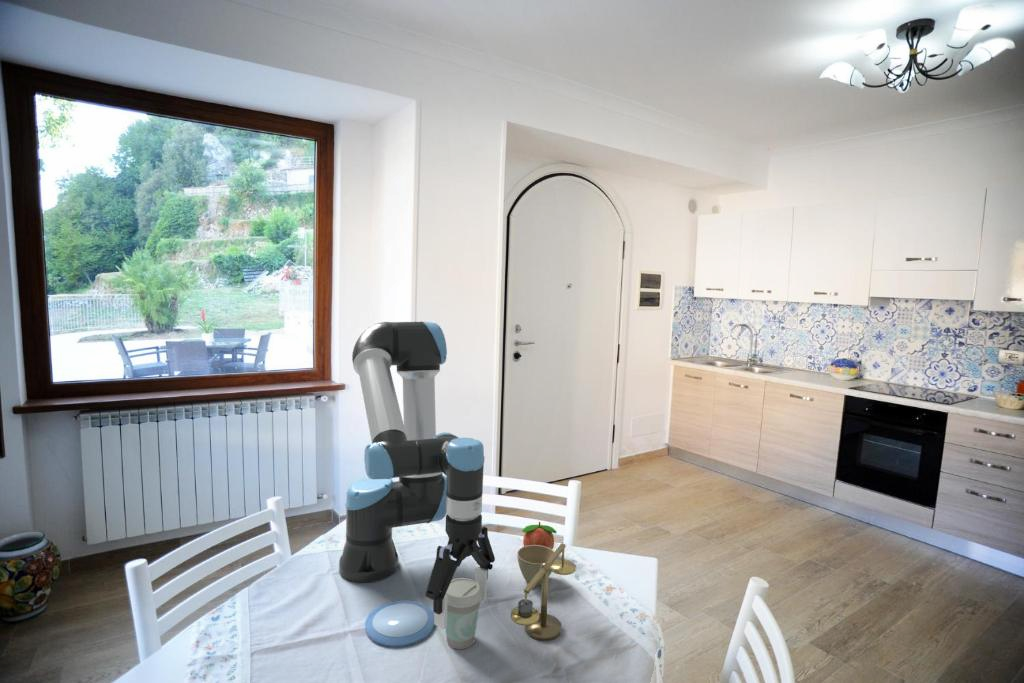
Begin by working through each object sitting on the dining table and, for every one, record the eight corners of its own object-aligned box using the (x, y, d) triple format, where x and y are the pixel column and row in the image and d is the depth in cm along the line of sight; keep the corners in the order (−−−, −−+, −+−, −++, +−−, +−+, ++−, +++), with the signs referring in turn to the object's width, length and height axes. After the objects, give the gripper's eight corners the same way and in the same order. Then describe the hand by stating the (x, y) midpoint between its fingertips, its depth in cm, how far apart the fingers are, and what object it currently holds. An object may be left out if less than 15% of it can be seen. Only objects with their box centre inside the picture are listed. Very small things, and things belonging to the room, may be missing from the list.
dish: (350, 628, 122) (350, 622, 121) (401, 597, 134) (401, 592, 134) (399, 656, 113) (399, 651, 113) (448, 620, 125) (448, 615, 125)
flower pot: (552, 593, 138) (553, 566, 137) (512, 587, 140) (513, 560, 139) (557, 573, 147) (558, 547, 147) (520, 567, 149) (521, 542, 149)
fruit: (523, 547, 161) (524, 514, 160) (556, 550, 159) (558, 517, 158) (519, 562, 152) (521, 527, 151) (554, 565, 151) (556, 530, 150)
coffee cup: (449, 658, 113) (450, 602, 112) (434, 633, 121) (435, 581, 119) (487, 646, 117) (489, 593, 116) (471, 623, 125) (472, 573, 123)
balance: (500, 647, 117) (502, 570, 115) (551, 600, 135) (555, 533, 133) (532, 663, 113) (535, 584, 111) (581, 612, 130) (585, 543, 128)
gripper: (437, 541, 103) (434, 648, 106) (512, 500, 124) (509, 591, 126) (408, 529, 108) (406, 633, 110) (485, 491, 128) (483, 580, 130)
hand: (461, 610), depth 118 cm, fingers open, 12 cm apart
